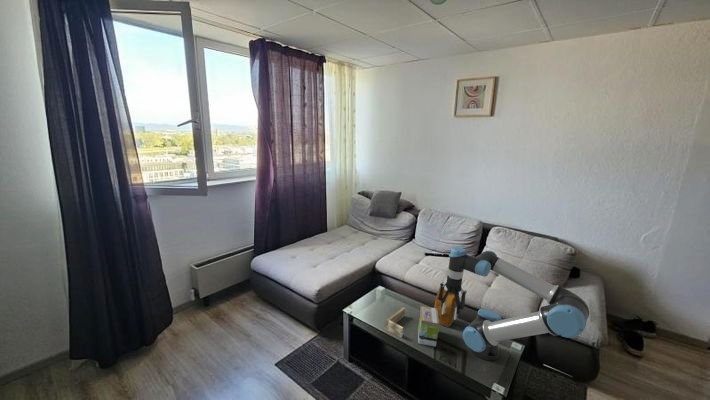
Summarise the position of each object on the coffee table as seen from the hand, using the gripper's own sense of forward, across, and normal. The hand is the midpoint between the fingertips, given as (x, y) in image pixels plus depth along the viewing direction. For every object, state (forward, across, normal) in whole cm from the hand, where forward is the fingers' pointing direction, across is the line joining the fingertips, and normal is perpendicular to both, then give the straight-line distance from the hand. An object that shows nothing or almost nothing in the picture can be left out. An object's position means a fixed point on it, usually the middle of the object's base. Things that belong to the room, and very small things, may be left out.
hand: (449, 315), depth 155 cm
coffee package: (+19, +11, -21) cm, 30 cm away
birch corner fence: (+19, +27, +2) cm, 33 cm away
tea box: (+19, +11, 0) cm, 22 cm away
